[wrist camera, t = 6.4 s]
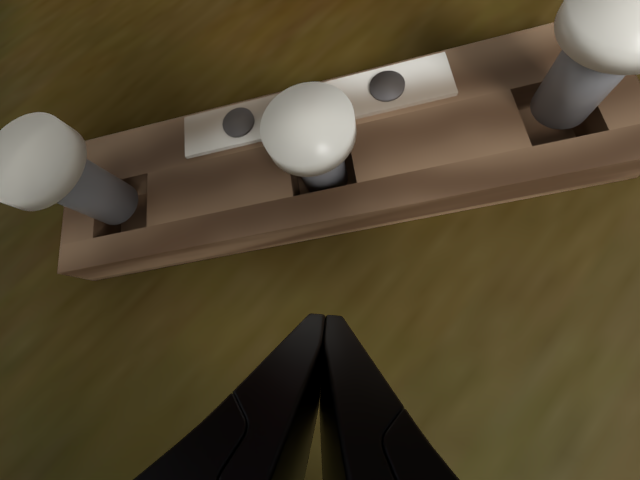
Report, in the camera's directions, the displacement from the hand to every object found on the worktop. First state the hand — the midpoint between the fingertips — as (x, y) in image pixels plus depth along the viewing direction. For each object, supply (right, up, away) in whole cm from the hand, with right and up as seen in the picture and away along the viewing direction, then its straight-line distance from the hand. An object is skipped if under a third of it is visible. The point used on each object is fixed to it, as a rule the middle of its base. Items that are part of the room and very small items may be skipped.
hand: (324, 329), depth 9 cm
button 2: (-14, +5, +14) cm, 20 cm away
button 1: (+13, +10, +11) cm, 20 cm away
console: (0, +7, +16) cm, 17 cm away
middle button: (0, +7, +15) cm, 16 cm away
